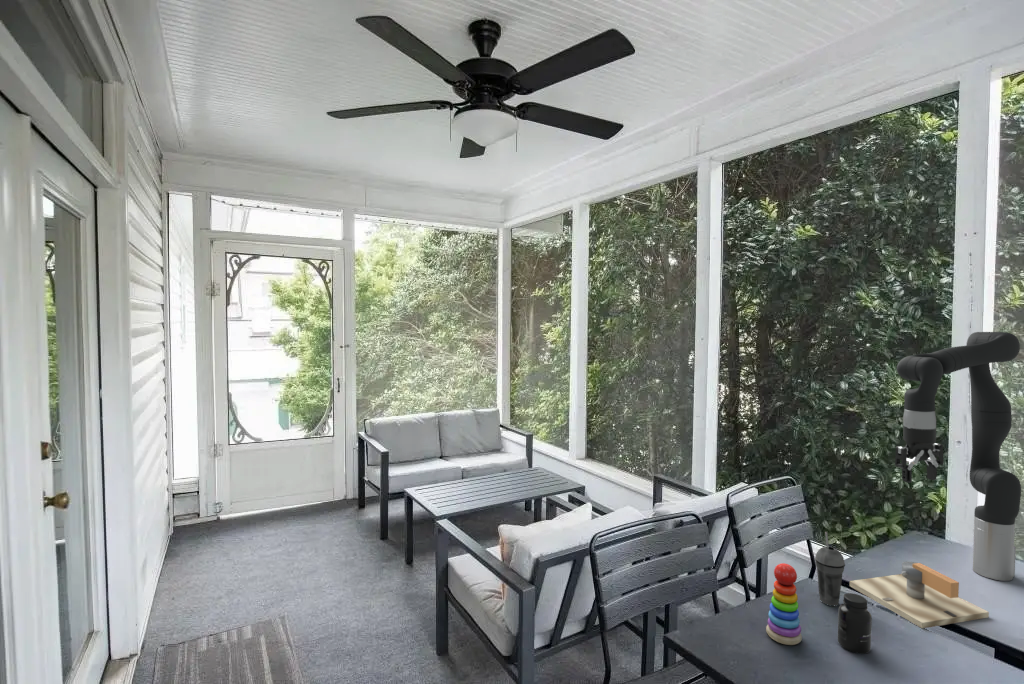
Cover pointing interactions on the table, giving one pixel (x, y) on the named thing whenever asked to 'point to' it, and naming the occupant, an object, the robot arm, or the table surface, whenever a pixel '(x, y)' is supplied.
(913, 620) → the post board
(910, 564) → the orange lever handle
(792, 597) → the stacking toy
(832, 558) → the beverage cup
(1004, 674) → the table surface
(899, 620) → the table surface
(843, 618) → the supplement bottle
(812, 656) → the table surface
